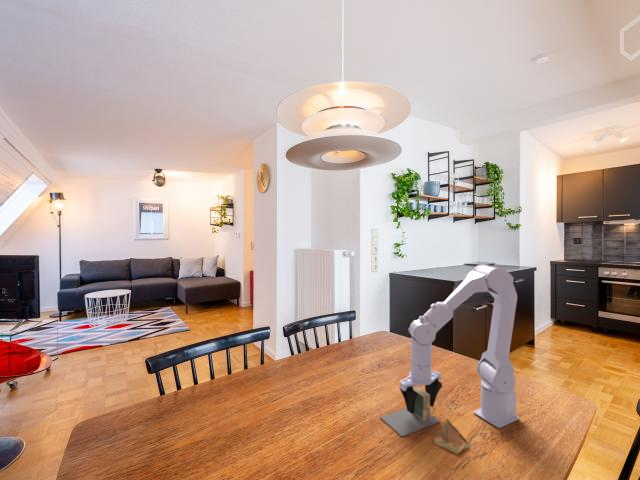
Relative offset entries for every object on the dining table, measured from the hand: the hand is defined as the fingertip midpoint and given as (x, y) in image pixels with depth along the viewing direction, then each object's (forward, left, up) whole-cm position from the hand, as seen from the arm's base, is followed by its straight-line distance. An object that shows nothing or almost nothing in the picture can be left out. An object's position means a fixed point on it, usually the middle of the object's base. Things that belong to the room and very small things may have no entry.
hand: (420, 408), depth 89 cm
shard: (+1, +10, -3) cm, 10 cm away
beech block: (0, 0, -2) cm, 2 cm away
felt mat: (+4, 0, -2) cm, 5 cm away
